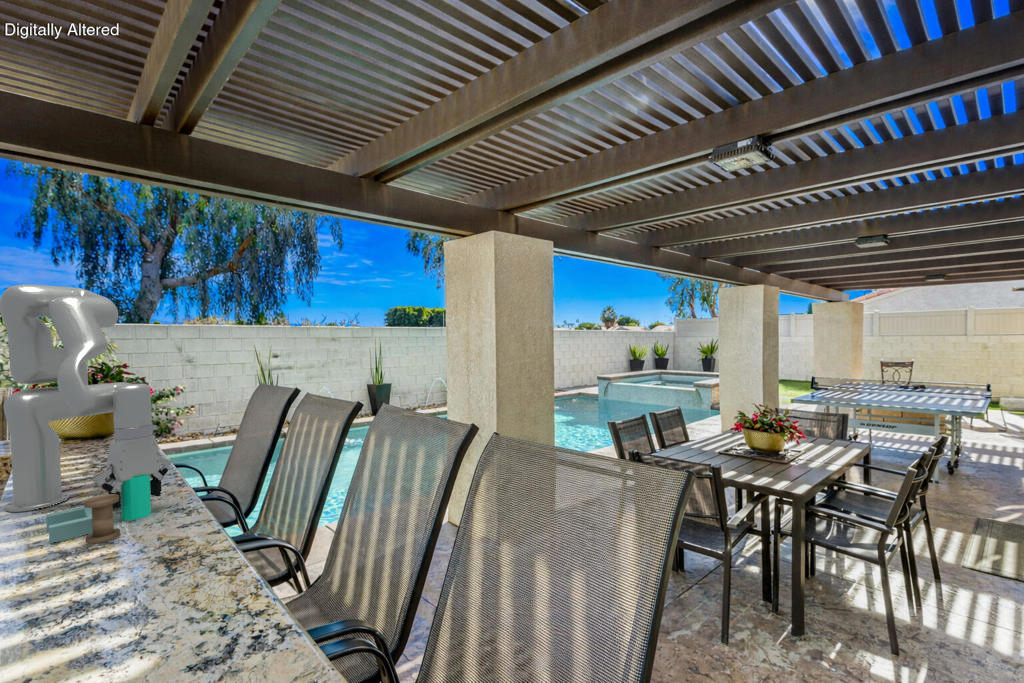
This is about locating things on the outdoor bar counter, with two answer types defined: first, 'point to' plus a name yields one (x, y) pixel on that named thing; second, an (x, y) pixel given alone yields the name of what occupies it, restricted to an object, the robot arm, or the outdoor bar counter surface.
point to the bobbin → (102, 518)
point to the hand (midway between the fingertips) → (136, 501)
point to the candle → (136, 498)
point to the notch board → (69, 524)
